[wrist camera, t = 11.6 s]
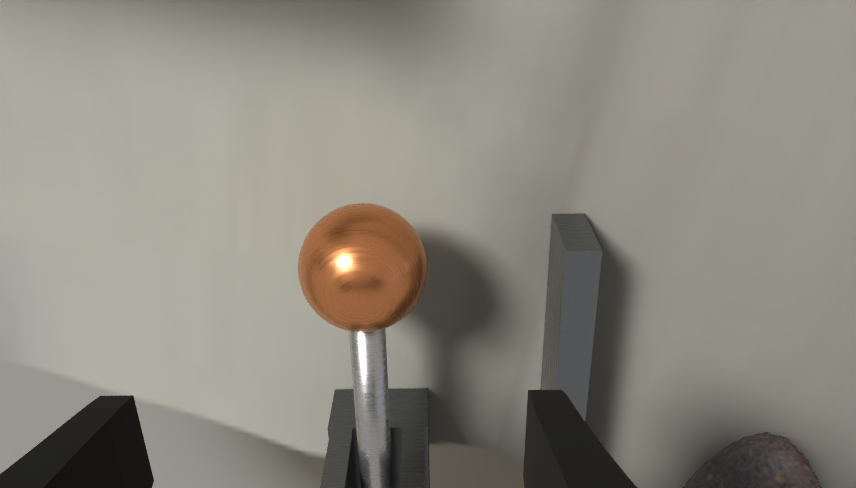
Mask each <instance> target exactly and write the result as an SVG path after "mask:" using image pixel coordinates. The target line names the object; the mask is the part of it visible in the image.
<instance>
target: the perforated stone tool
mask: <svg viewBox="0 0 856 488" xmlns="http://www.w3.org/2000/svg"><path fill="white" fill-rule="evenodd" d="M818 483H819V482H818V479H817V476H815V474H814V472H812V469H811V467H810V465H809V461H808V460H807V459H806V458H805V457H804V456H803V454H802V453H800V452H799V451H798V450H797V449H796V448H795V446H794V445H792V444H791V443H790V441H789V439H787V438H784V437H783V438H782V437H781V436H780V437H779V436H774V435H771V434H770V433H769V434H768V432H765V433H762V434H756V435H753V436H747V437H744V438H742V439H741V440H739V441H737V442H734V443H732V444H730V445H729V446H728V447H726V448H724V449H723V450H721V451H720V452H719V453H718V454H717V455H716V456H714V457H713V458H711V459H710V460H709V461H708V462H706V463H705V464H704V465H703V466H702V467H701V468H700V470H699V471H698V472H697V473H696V474H695V475H694V476H693V477H692V478H691V479H690V480H689V481H688V482H687V483H686V485H685V486H684V487H683V488H822V487H821V486H820V485H819V484H818Z"/></svg>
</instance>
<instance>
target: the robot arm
mask: <svg viewBox="0 0 856 488" xmlns="http://www.w3.org/2000/svg"><path fill="white" fill-rule="evenodd" d="M523 477H524V485H525V488H637V487H636V486H635V485H634V484H633V482H632V481H631V480H630V479H629V478H628V477H627V475H626V474H625V473H624V472H623V470H622V469H621V468H620V467H619V466H618V464H617V463H616V462H615V461H614V459H613V458H612V457H611V456H610V454H609V453H608V452H607V451H606V449H605V448H604V447H603V446H602V444H601V443H600V442H599V440H598V439H597V438H596V436H595V435H594V433H593V432H592V431H591V429H590V428H589V427H588V425H587V424H586V422H585V421H584V420H583V418H582V417H581V415H580V414H579V412H578V411H577V409H576V408H575V406H574V405H573V403H572V402H571V400H570V399H569V397H568V395H567V394H566V393H565V392H564V391H563V390H528V402H527V420H526V438H525V456H524V474H523ZM153 482H154V479H153V475H152V471H151V467H150V463H149V459H148V455H147V450H146V446H145V442H144V438H143V434H142V430H141V426H140V422H139V417H138V413H137V409H136V405H135V401H134V397H133V396H100V397H98V398H97V399H95V400H94V401H93V402H91V403H90V404H89V405H87V406H86V407H85V408H83V409H82V410H81V411H79V412H78V413H77V414H76V415H75V416H73V417H72V418H71V419H70V420H68V421H67V422H66V423H64V424H63V425H62V426H61V427H59V428H58V429H57V430H56V431H54V432H53V433H52V434H51V435H49V436H48V437H47V438H46V439H44V440H43V441H42V442H41V443H40V444H38V445H37V446H36V447H34V448H33V449H32V450H31V451H29V452H28V453H27V454H25V455H24V456H23V457H22V458H20V459H19V460H18V461H17V462H15V463H14V464H13V465H12V466H10V467H9V468H8V469H6V470H5V471H4V472H3V473H1V474H0V488H152V485H153Z"/></svg>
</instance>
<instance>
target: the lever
mask: <svg viewBox="0 0 856 488" xmlns="http://www.w3.org/2000/svg"><path fill="white" fill-rule="evenodd" d="M298 274H299V281H300V285H301V288H302V291H303V294H304V296H305V298H306V300H307V302H308V303H309V304H310V306H311V307H312V308H313V310H314V311H315V312H316V313H317V314H318V315H319V316H320V317H321V318H323V319H324V320H325V321H327V322H328V323H330V324H332V325H334V326H336V327H338V328H341V329H344V330H348V331H349V337H350V351H351V364H352V377H353V390H354V403H355V417H356V430H357V443H358V456H359V469H360V482H361V488H393V475H392V455H391V434H390V414H389V394H388V374H387V354H386V334H385V328H387V327H389V326H392V325H393V324H395V323H397V322H398V321H400V320H401V319H403V318H404V317H405V316H406V315H407V314H408V313H409V312H410V311H411V310H412V309H413V308H414V306H415V305H416V304H417V302H418V300H419V298H420V297H421V295H422V292H423V290H424V287H425V283H426V278H427V257H426V252H425V248H424V246H423V243H422V241H421V239H420V237H419V235H418V234H417V232H416V230H415V229H414V228H413V227H412V225H411V224H410V223H409V222H408V221H407V220H405V219H404V218H403V217H402V216H400V215H399V214H398V213H396V212H394V211H392V210H390V209H388V208H386V207H382V206H379V205H374V204H364V203H361V204H352V205H347V206H344V207H341V208H338V209H336V210H334V211H332V212H330V213H328V214H327V215H325V216H324V217H323V218H322V219H320V220H319V221H318V222H317V223H316V224H315V225H314V226H313V228H312V229H311V230H310V232H309V233H308V235H307V236H306V238H305V240H304V243H303V245H302V247H301V251H300V255H299V262H298Z"/></svg>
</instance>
